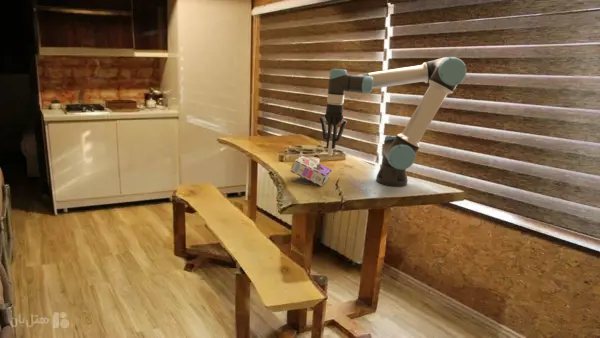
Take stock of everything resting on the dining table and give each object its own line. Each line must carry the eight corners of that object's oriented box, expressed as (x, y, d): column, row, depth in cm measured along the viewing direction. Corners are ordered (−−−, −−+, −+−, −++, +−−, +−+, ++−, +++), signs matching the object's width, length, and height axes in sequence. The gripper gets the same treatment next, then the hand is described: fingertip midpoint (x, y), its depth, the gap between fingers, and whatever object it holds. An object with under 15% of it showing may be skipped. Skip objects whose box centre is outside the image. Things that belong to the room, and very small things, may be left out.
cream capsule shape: (320, 171, 239) (321, 158, 237) (315, 174, 233) (316, 160, 231) (307, 169, 242) (309, 156, 240) (302, 171, 235) (303, 158, 234)
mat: (329, 178, 227) (329, 177, 226) (316, 186, 210) (316, 185, 210) (306, 174, 231) (306, 173, 231) (292, 181, 215) (292, 181, 214)
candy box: (326, 175, 208) (294, 160, 211) (321, 187, 210) (289, 171, 212) (332, 169, 221) (301, 154, 224) (327, 180, 223) (297, 165, 225)
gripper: (351, 105, 209) (345, 156, 215) (324, 101, 214) (319, 151, 219) (346, 106, 202) (341, 158, 208) (318, 102, 207) (314, 154, 212)
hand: (330, 155), depth 213 cm, fingers closed
